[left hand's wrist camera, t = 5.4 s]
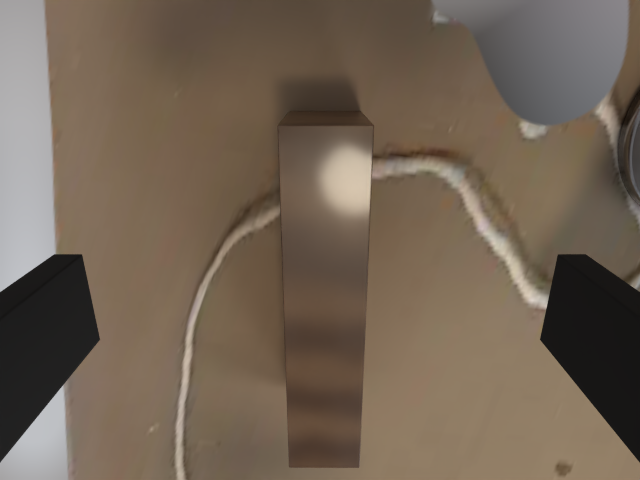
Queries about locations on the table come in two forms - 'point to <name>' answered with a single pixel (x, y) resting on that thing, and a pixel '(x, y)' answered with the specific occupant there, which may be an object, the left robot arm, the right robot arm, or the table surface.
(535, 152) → the table surface
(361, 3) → the table surface
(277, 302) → the table surface
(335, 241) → the bar
